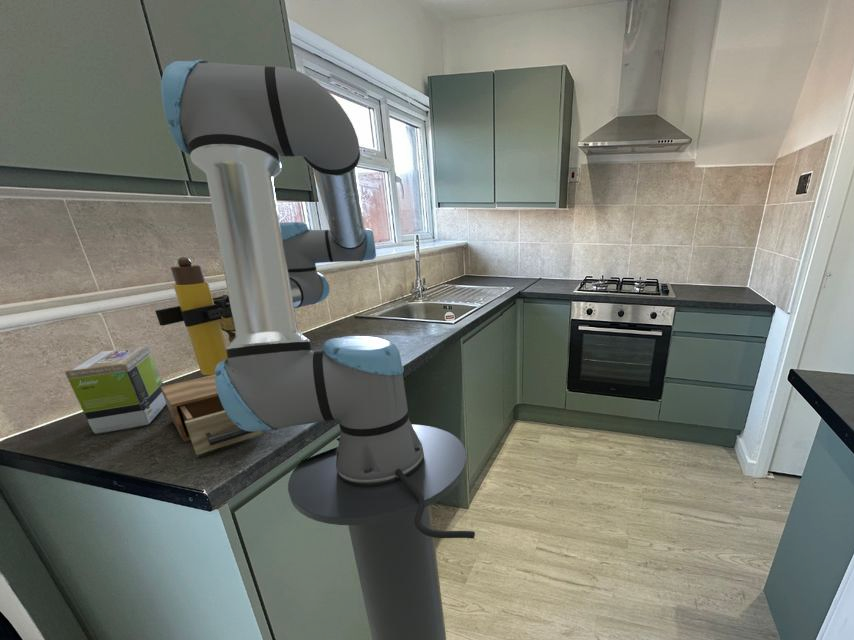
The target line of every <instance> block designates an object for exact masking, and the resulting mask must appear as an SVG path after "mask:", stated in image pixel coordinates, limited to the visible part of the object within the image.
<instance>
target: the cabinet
mask: <svg viewBox="0 0 854 640" xmlns="http://www.w3.org/2000/svg"><path fill="white" fill-rule="evenodd" d="M215 377H216V375H206V376H203V377H198V378H194V379H189V380H184V381H180V382H175V383H170V384H167V385H164V386H161V390H162V393H163V396H164V398H165V401H166V407H167V409H168V412H169V415H170V417H171V420H172V423H173V424H174V426H175V427H176V428H175V429H176V430H177V431H178V434H179V435H180V437H181V439H182V441H183V442H184V443H186V442H191V439H190V436H189V433H188V431H187V429H186V427H185V424H184V421H183V418H182V415H181V412H180V409H179V407H178V406H180V405H184V404H188V403H192V402H196V401H200V400H204V399H208V398H212V397H216V396H219V395H218V392H217V388H216V383H215Z"/></svg>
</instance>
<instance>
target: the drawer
mask: <svg viewBox="0 0 854 640" xmlns="http://www.w3.org/2000/svg"><path fill="white" fill-rule="evenodd" d="M178 407H179V409H180V412H181V415H182V418H183V421H184V424H185V427H186V429H187V431H188V433H189V436H190V439H191V440H190V442H191V444H192V447H193V451H194V454H195V455H196V456H198V455H202V454H205V453H208V452H211V451H215V450H218V449H220V448H223V447H227V446H231V445H233V444H237V443H238V442H243V441H246V440H249V439H251V438H255V437H258V436H262V435H263V430H262V431H245V430H243V429H241V428H239V427H238V426H236V425H235V424H234V423H233V421H232V420H231V419H230V418H229V417H228V415H227V413H226V412H225V410H224V408H223V406H222V403H221V401H220V398H219V396H216V397H212V398H208V399H204V400H200V401H196V402H192V403H188V404H184V405H180V406H178Z"/></svg>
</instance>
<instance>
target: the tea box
mask: <svg viewBox="0 0 854 640" xmlns="http://www.w3.org/2000/svg"><path fill="white" fill-rule="evenodd" d="M64 373H65V376H66V378H67V381H68V382H69V384H70V387H71V388H72V391H73V393H74V395H75V397H76V399H77V401H78V403H79V405H80V408H81V410H82V412H83V414H84V416H85V417H86V420H87V422H88V425H89V427H90V428H91V431H92V433H93V434H95V435H98V434H104V433H109V432H110V433H111V432H114V431H115V432H116V431H121V430H129V429H133V428H139V427H144V426H148V425H150V424H151V423H152V421H153V420H154V419H155V418H156V417H157V415H158V414H159V413H160V412H161V411H162V410H163V409H164V408H165V406H167V404H166V401H165V398H164V396H163V393H162V390H161V386H165V385H164V383H163V380H162V376H161V375H160V373H159V370H158V367H157V365H156V362H155V359H154V357H153V354H152V352H151V349H150V347H149V346H148V345H146V346H138V347H131V348H130V347H129V348H122V349H121V348H120V349H113V350H106V351H97V352H95V353H94V354H92V355H91V356H89V357H86V359H84V360H82V361H80V362H79V363H77V364H75V365H74V366H71V367H70V368H69V369H67V370H65V371H64Z"/></svg>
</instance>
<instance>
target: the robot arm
mask: <svg viewBox="0 0 854 640" xmlns="http://www.w3.org/2000/svg"><path fill="white" fill-rule="evenodd" d="M160 94H161V103H162V104H161V105H162V109H163V115H164V118H165V119H166V120H167V124H168V126H167V127H168V131H169V133H170V136H171V137H172V139H173V141H174V142H175V143H174V144H175V145H176V146H177V147H178V148H179V150H180V151H182V152H183V153H184V154H186V155H189V158H190V161H191V163H192V164H193V165H194V166H195V167H196V168H197V169H199V170H200V171H201V172H202V173H204V174H205V176H206V183H207V187H208V192H209V193H208V194H209V197H210V204H211V208H212V214H213V221H214V225H215V229H216V230H215V231H216V237H217V240H218V241H217V242H218V246H219V252H220V258H221V262H222V263H221V264H222V268H223V274H224V278H225V284H226V290H227V294H222V295H219V296H215V297H212V298H213V301H214V305H209V306H204V307H199V308H195V309H190V310H185V311H181V308H180V305H177V306H172V307H167V308H166V307H165V308H161V309H156V310H154V311H155V315H156V318H157V320H158V324H159V326H161V327H162V326H163V327H164V326H168V325H172V324H173V325H174V324H177V323H181V322H183V323H184V326H185V327H186V328H187V327H190V326H194V325H198V324H202V323H206V322H210V321H214V320H219V319H222V318H221V317H222V316H223V318H230V317H233V323H234V328H235V338H234V339H233V340H232V341H231V343H230V342H229V343H228V344H227V345H226V346H227V347H226V351H227V356H228V359H225V360H223V361H221V362H219V363H218V364H217V366H216V368H215V374H216V377H215V383H216V388H217V392H218V395H219V398H220V401H221V403H222V406H223V408H224V410H225V412H226V413H227V415H228V417H229V418H230V419H231V420H232V421H233V423H234V424H235V425H236V426H238V427H239V428H241V429H243V430H245V431H262V432H263V431H277V430H279V429H282V428H283V429H284V428H288V427H295V426H302V425H309V424H316V423H321V422H328V421H335V420H337V421H338V425H339V430H340V431H339V432H340V434H339V438H340V440H339V441H338V446H336V447H337V448H338V452H337V454H336V455H337V458H336V468H337V473H338V476H339V478H340V479H341V480H342V481H344V482H345V483H347V484H350V485H354V486H360V487H374V486H381V485H386V484H390V483H393V482H396V481H399V480H402V482H403V483H404V484H405V485H406V487H407V488H408V489H409V490H410V491H411V492H412V493H413V494H414V495H415V497H416V498H417V500H418V503H419V506H418V510H417V512H416V515H415V520H414V523H415V527H416V528H417V529H418V530H419V531H420V532H421V533H423V534H424V535H427V536H430V537H434V539H470V540H471V539H475V537H476V531H474V530H436V529H433V530H432V529H429V528H426V527H425V526H423V525H422V523H421V517H422V514H423V511H424V507H425V502H424V498H423V496H422V494H421V493H420V492H419V491H418V490H417V488H416V487H415V486H414V485H413V484H412V483H411V482H410V481H409V480H408V478H407V476H409V475H411V474H412V473H414V472H415V471H416V470H417V469H418V468H419V467H420V466H421V464H422V463H423V460H424V453H423V447H422V444H421V442H420V440H419V438H418V436H417V434H416V432H415V430H414V428H413V426H412V422H411V421H410V416H409V408H408V402H407V401H408V400H407V394H406V389H405V388H406V387H405V381H404V374H403V373H404V371H405V368H404V366H403V363H402V358H401V353H400V349H399V348H398V347H397V345H396V344H394V342H392V341H390V340H388V339H384V338H381V337H375V336H365V335H361V336H360V335H347V336H341V337H333V338H331V339H328V340H326V341H325V342H324V344H323V347H322V349H321V350H313V349H312V344H311V343H312V342H311V340H310V339H309V338H308V337H306V336H305V335H304V334H302V333H301V332H300V331H299V329H298V323H297V316H296V312H295V309H299V308H303V307H307V306H311V305H316V304H317V303H321V302H322V301H324V300H326V299H327V298H328V296H329V294H330V284H329V282H328V281H327V279H326V277H325V276H324V275H323V274H322V273H320V272H318V270H317V264H322V263H323V264H324V263H343V262H344V263H345V262H364V261H373V260H374V259H376V257H377V250H376V242H375V237H374V231H373V230H372V229H370V228H365V222H364V214H363V207H362V206H363V205H362V201H361V192H360V186H359V179H358V172H357V167H358V165H359V163H360V160H361V150H360V144H359V138H358V135H357V132H356V128H355V127H354V125H353V123H352V121H351V119H350V117H349V115H348V114H347V112H346V111H345V109H344V108H343V107H342V105H341V104H340V102H339V101H338V100H337V99H336V98H335V97H334V96H333V94H332V93H330V92H329V91H328V90H327V89H326V88H325V87H324V86H322V85H321V84H320V83H319V82H318V81H316V80H315V79H313V78H312V77H310V76H309V75H308V74H305V73H303V72H301V71H298V70H296V69H293V68H291V67H286V66H277V65H276V66H266V65H255V64H254V65H253V64H238V63H237V64H236V63H221V62H210V61H208V60H206V59H196V60H192V61H190V60H177V61H172V62H171V63H169V65H166V67H165V68H164V70H163V73H162V76H161V83H160ZM281 157H292V158H293V157H302V158H303V159H304V161H305V163H306V164H307V166H309V167H310V168H311V169H312V171H313V175H314V178H315V182H316V185H317V188H318V192H319V195H320V200H321V203H322V205H323V210H324V214H325V217H326V220H327V224H328V227H329V229H310V227H309V224H308V223H307V222H306V221H289V222H287V221H286V222H280V215H279V208H278V204H277V197H276V192H275V186H274V179H275V178H276V177H277V176H279V174H280V173H281V171H282V162H281Z"/></svg>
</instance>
